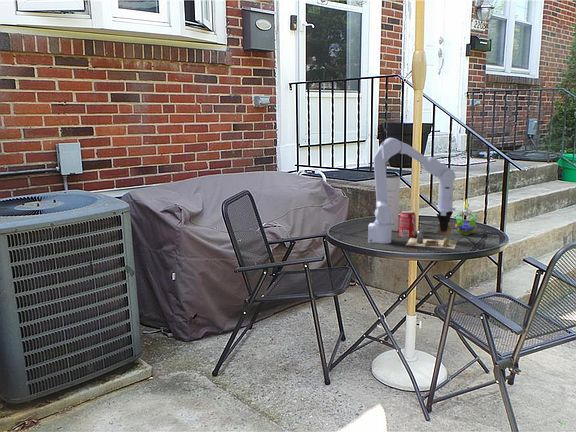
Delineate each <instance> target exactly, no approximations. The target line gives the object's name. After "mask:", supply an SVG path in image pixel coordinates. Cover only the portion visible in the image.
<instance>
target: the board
mask: <svg viewBox="0 0 576 432" xmlns="http://www.w3.org/2000/svg"><path fill="white" fill-rule="evenodd" d="M457 242H458V240H450V239H449V238H448V237H444V238H443V239H434V238H433V239H432V238H423V243H422V244H419V243H417V237H416V238H415V237H409V239H408V241H407V243H405V246H408V247H409V246H411V247H412V246H414V247H415V246H416V247H423V248H425V247H427V248H438V249H439V248H441V249H452V250H453V249H455V248H456V245H457Z"/></svg>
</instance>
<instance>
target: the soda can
mask: <svg viewBox="0 0 576 432" xmlns="http://www.w3.org/2000/svg"><path fill="white" fill-rule="evenodd" d="M416 229H417V215H416V212H415V211H414V210H407V209H405V210H403V209H402V210H401V211H400V213H399V225H398V234H399V235H398V236H399V237H401V238H415V237H416V235H417V231H416Z"/></svg>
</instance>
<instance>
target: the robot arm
mask: <svg viewBox="0 0 576 432" xmlns="http://www.w3.org/2000/svg"><path fill="white" fill-rule="evenodd" d="M396 154H402V155H407V156H408V157H410V158H412V159H414V160H415V161H417V162H418V163H420V164H421V166H422V168H423V170H425V171H426V172H428V173H429V174H430V175H432V176H434V177H435V178H437V179H438V194H437V195H438V199H437V208H436V209H437V211H438V213H437V214H436V217H437V220H438V223H440V229H441V231H443V232H446V231H447V227H448V222H451V221H450V220H451V218H452V215H453V213H454V211H456V207H453V204H454V203H453V202H454V181H455V179H456V174H455V171H454V170H453V169H451V168H449V167H448V165H447V164H446V163H445V164H443V163H442V162H440V161H439V160H438V158H437V157H436V156H429V157H427V156H425V155H424V154H423V153H421V152H419V151H418V150H416V149H415V148H414V147H412V146H411V145H410V144H408V143H405V142H403V141H400V140H399V139H398V138H394V137H388V138H386V139H384V141H382V142H381V143H380V145H379V147H378V149H377V150H376V152H375V154H374V155H373V170H374V182H375V183H374V185H375V187H374V188H375V198H376V200H375V210H374V217H375V220H374V221H373V222H370V223H369V224H368V228H367V229H368V230H367V243H368V244H370V243H372V244H373V243H375V244H383V245H384V244H385V245H386V244H390V243H392V232H393V231H392V222H391V219H392V214H391V212H390V210H389V204H388V194H387V179H386V176H387V165H386V163H387V161H389V160H390V158H392V157H393V156H395V155H396Z"/></svg>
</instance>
